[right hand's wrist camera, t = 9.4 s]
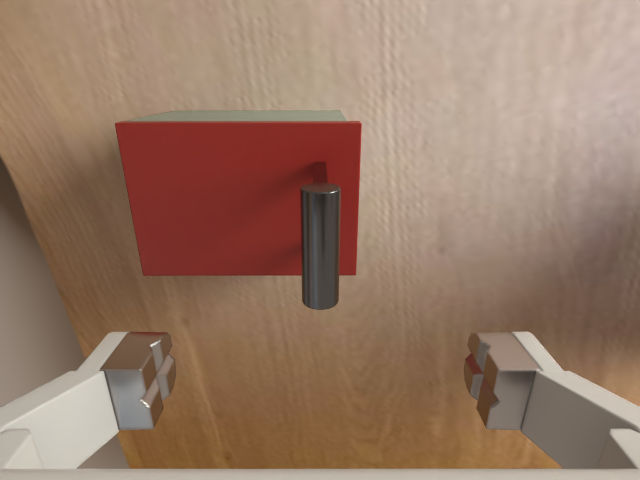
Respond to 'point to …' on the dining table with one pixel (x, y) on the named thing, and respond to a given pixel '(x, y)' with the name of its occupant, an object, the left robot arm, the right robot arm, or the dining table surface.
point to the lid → (246, 199)
